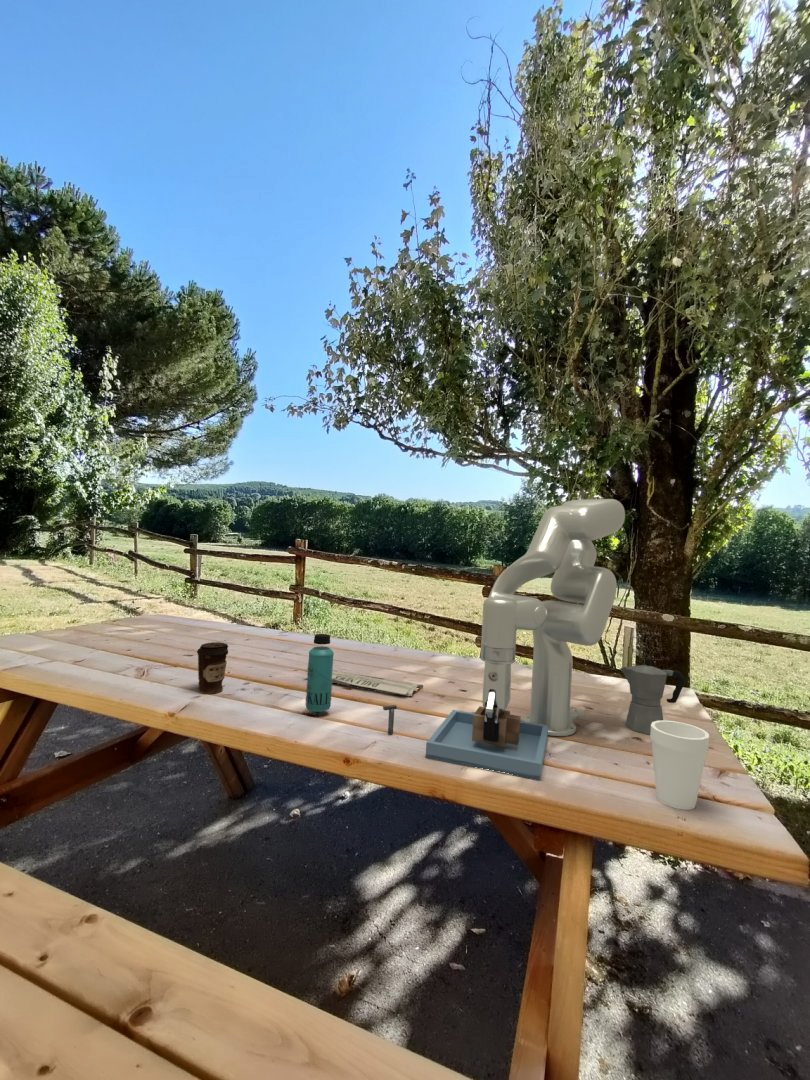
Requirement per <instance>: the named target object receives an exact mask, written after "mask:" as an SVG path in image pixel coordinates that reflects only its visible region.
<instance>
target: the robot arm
mask: <svg viewBox="0 0 810 1080" xmlns="http://www.w3.org/2000/svg"><path fill="white" fill-rule="evenodd" d="M625 511H626V510H625V507H624V505H623V504H622V502H620V501H619V500H617V499H614V498H601V499H600V498H598V499H596V498H595V499H589V498H588V499H573V500H568V501H565V502H564V503H562V504H561V505H557V506H552V507H549V508H548V509H547V510H546V511H545V512H544V513H543V516H542V518H541V519H540V522H539V524H538V527H537V529H536V530H535V533H534V535H533V537H532V540H531V542H530V544H529V546H528V548H527V550H526V553H524V555H522V556H520V557H519V558H518V559H517V560H515V561H514V562H512V563H511V564H510V565H509V566H507V568H505V569H504V570H503V571H502V572H501V573H500V574H499V576H498V577H497V578H496V580H495V582H494V583H493V586H492V587H491V590H490V592H489V595H488V597H487V598H485V600H484V602H483V605H482V623H481V624H482V625H481V640H480V641H481V642H480V643H481V644H480V658H479V659H480V660H481V661H483V662H484V668H483V669H484V670H483V685H482V707H485V708H486V712H485V721H484V732H483V739H484V740H488V741H493V742H498V738H499V723H498V717H499V709H500V710H502V711H504V710H506V709H507V708H508V707H509V704H510V701H511V690H512V688H511V686H512V685H511V684H512V664H514V663H516V646H517V632H518V631H519V630H522V631H531V632H532V639H533V652H532V653H533V659H532V673H531V675H532V677H531V692H530V693H531V694H530V708H529V711H530V712H529V714H528V715H526V716H525V717H524V718H523V721H524V722H530V723H536V724H543V725H548V736H552V737H566V736H567V737H568V736H571V735H574V734H575V732H576V730H577V729H576V728H577V727H576V725H575V723H574V722H573V721H574V720H575V719H582V718H584V717H585V713H584V711H583V710H582V709H578V710H573V709H572V708H571V697H572V680H573V677H572V676H573V655H572V651H571V649H570V647H569V645H568V643H570V644H575V645H580V646H586V647H587V646H588V647H592V646H595V645H596V644H598V643H599V641H600V640H601V639H602V637H603V634H604V632H605V629H606V625H607V623H608V621H609V617H610V614H611V612H612V609H613V608H612V607H613V605H614V602H615V599H616V596H617V588H618V586H617V579H616V576H615V574H614V573H613V572H612V570H611V569H609V568H606V567H602V566H595V563H596V560H597V555H598V553H597V549H596V548H595V545H594V543H593V541H596V540H600V539H602V538H605V537H607V536H610V535H612V534H615V533H617V532H618V531H619V530H620V529H621V528H622V527H623V525H624V523H625V519H626V512H625ZM553 573H554V574H553ZM550 574H553V576H552V579H551V583H550V593H551V594H552V595H553V597H554V598H556V599H559V600H560V601H559V600H551V599H550V600H543V601H542V600H540V599H538V598H536V597H532V596H525V595H520V594H515V593H516V592H517V591H518V589H520V588H521V587H522V586H523V585H525V584H527V583H528V582H531V581H533V580H537V579H540V578H542V577H545V576H548V575H550ZM493 711H496V714H495V713H493Z"/></svg>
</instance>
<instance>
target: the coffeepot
mask: <svg viewBox="0 0 810 1080" xmlns="http://www.w3.org/2000/svg"><path fill="white" fill-rule="evenodd" d="M644 662H645V664H640V665H631V666H623V667H620V668H619V670H620V671H621V672H622V673H623V675H624V677H625V679H626V680H627V682H628V685H629V693H630V694H631V700H630V703H629V707H628V712H627V717H626V720H625V727H627V728H628V729H629V730H631V731H633V732H636V733H639V734H643V735H649V736H650V732H651V724H652V722H655V721H664V715H663V706H662V705H661V703H662V702H661V699H662V698H663V696H664V693H665V686H666V682H667V679H677V682H676V683H675V688H674V689H673V691H672V697H671V698H666V701H667V702H666V703H670V704H676V703H677V702H678V698H679V696H680V694H681V692H682V690H683V687H685V686H684V685H685V684H686V677H685V676H684V675H683V674H682V672H681V671H679V670H674V669H673V670H671V669H661V668H658V667H655V666H653V665H651V664H652V662H653V659H651V658H644Z"/></svg>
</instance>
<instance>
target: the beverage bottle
mask: <svg viewBox="0 0 810 1080" xmlns="http://www.w3.org/2000/svg"><path fill="white" fill-rule="evenodd" d="M313 638H314V639H313V643H314V644H315V645H320V646H314V647H312V649H310V650H309V651H308V662H307V670H306V671H308V672H307V673H306V674H307V675H306V676H307V678H306V680H307V681H306V685H305V686H306V689H305V690H306V694H305V704H304V705H305V708H306V710H307V711H311V712H317V713H318V712H326V711H329V710H330V708H331V706H332V705H331V704H332V694H333V693H332V690H333V682H332V670H334V669H333V665H334V653H335V652H334V651H333V649H331V648H330V647H327V646H321V645H330V644H331V635H329V634H327V633H317V634H314V637H313Z"/></svg>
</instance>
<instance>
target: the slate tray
mask: <svg viewBox="0 0 810 1080" xmlns="http://www.w3.org/2000/svg"><path fill="white" fill-rule="evenodd" d="M474 714H475V712H470V711H469V712H468V711H463V710H457V709H453V710H451V712H450V713H449V714H448V715H447V716H446V718H445V719H444V720H443V721H442V723H441V724H440V725H439V726H438V727H437V729H436V730H435V731H434V732H433V733H432V734H431V736H430V737H429V739H428V740H427V741H426V744H425V745H426V747H425V759H429V760H430V759H431V760H435V761H440V762H446V763H450V764H454V765H455V764H456V765H458V766H459V765H460V766H465V767H469V768H474V769H475V767H477V768H476V769H479V768H483V769H482V770H484V769H489V770H494V771H500V772H505V773H509V774H513V775H512V776H514V775H518V776H517V777H519V776H523V777H522V778H524V777H527V778H526V779H529V778H532V779H531V780H534V779H536V780H535V781H539V780H540V781H541V778H542V777H541V776H542V773H543V771H542V770H543V767H544V766H543V765H544V761H545V754H546V750H547V744H548V740H549V738H548V737H549V735H548V725H543V724H536V723H530V722H524V720H520V732H519V743H518V745H513V744H508V743H506V744H505V746H504V747H502V746H497V745H492V744H487V743H481V742H476V741H472V730H473V715H474ZM489 770H488V771H489ZM494 771H493V772H494ZM509 774H508V775H509Z"/></svg>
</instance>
